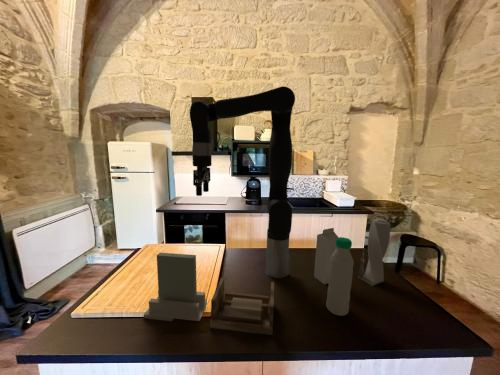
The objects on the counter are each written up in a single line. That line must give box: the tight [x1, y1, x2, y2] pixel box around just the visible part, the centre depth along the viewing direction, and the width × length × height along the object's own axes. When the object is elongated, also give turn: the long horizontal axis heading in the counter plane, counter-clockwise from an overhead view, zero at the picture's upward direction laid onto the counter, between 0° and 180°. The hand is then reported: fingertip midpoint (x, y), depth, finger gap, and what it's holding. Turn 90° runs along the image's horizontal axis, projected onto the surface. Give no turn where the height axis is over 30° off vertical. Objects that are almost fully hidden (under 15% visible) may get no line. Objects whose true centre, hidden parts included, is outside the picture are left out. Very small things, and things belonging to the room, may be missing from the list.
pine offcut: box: [230, 297, 262, 320], centre depth 66 cm, size 4×9×3 cm, turn 83°
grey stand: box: [143, 290, 208, 322], centre depth 72 cm, size 10×18×5 cm, turn 83°
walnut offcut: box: [222, 305, 263, 325], centre depth 66 cm, size 4×12×3 cm, turn 83°
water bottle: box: [326, 236, 355, 317], centre depth 72 cm, size 7×7×25 cm
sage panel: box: [156, 252, 198, 303], centre depth 71 cm, size 2×12×18 cm, turn 84°
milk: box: [313, 227, 339, 285], centre depth 90 cm, size 6×6×22 cm
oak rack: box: [209, 277, 275, 336], centre depth 69 cm, size 14×18×9 cm
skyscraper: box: [356, 213, 391, 287], centre depth 89 cm, size 8×8×28 cm
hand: (202, 193), depth 92 cm, fingers open, 8 cm apart
